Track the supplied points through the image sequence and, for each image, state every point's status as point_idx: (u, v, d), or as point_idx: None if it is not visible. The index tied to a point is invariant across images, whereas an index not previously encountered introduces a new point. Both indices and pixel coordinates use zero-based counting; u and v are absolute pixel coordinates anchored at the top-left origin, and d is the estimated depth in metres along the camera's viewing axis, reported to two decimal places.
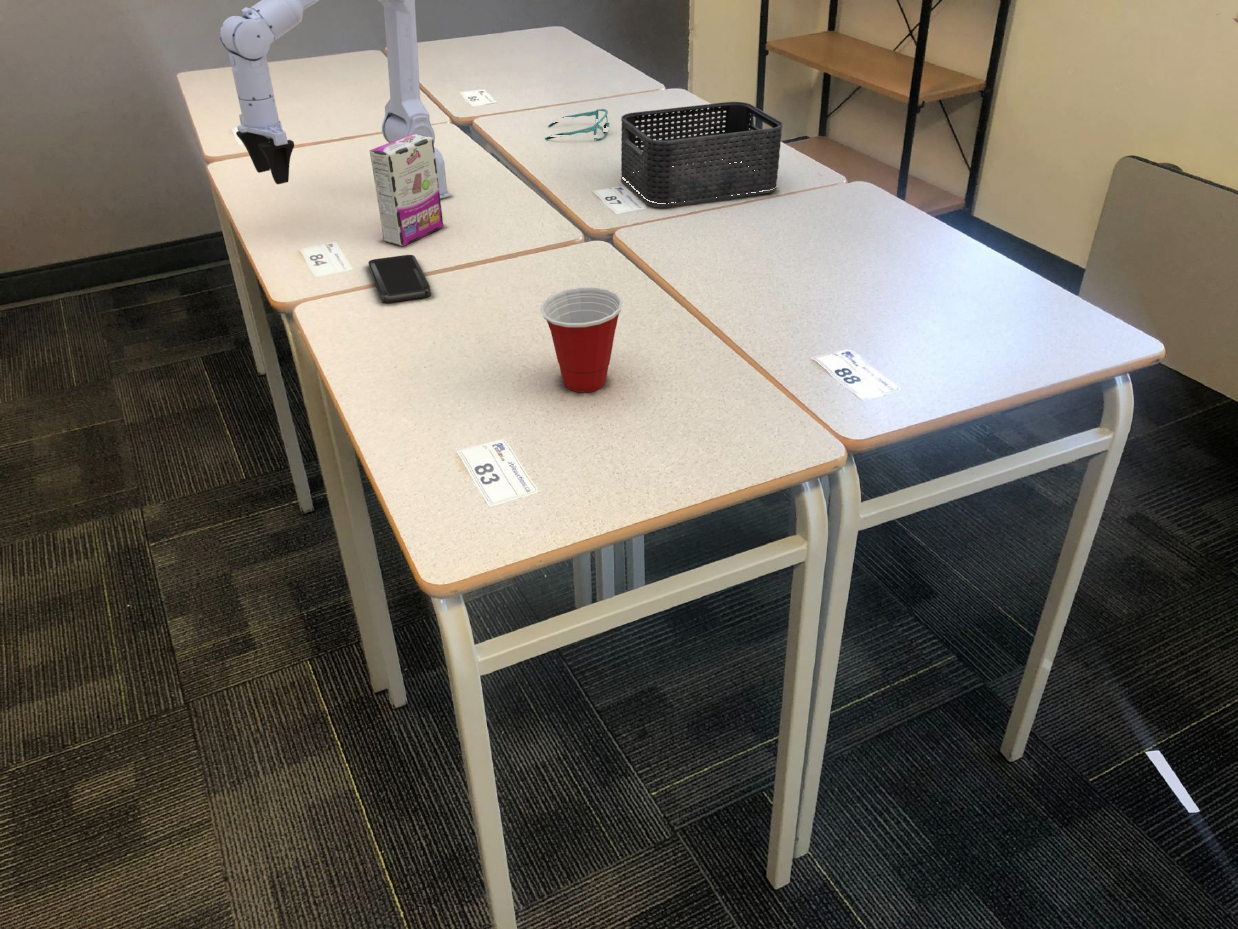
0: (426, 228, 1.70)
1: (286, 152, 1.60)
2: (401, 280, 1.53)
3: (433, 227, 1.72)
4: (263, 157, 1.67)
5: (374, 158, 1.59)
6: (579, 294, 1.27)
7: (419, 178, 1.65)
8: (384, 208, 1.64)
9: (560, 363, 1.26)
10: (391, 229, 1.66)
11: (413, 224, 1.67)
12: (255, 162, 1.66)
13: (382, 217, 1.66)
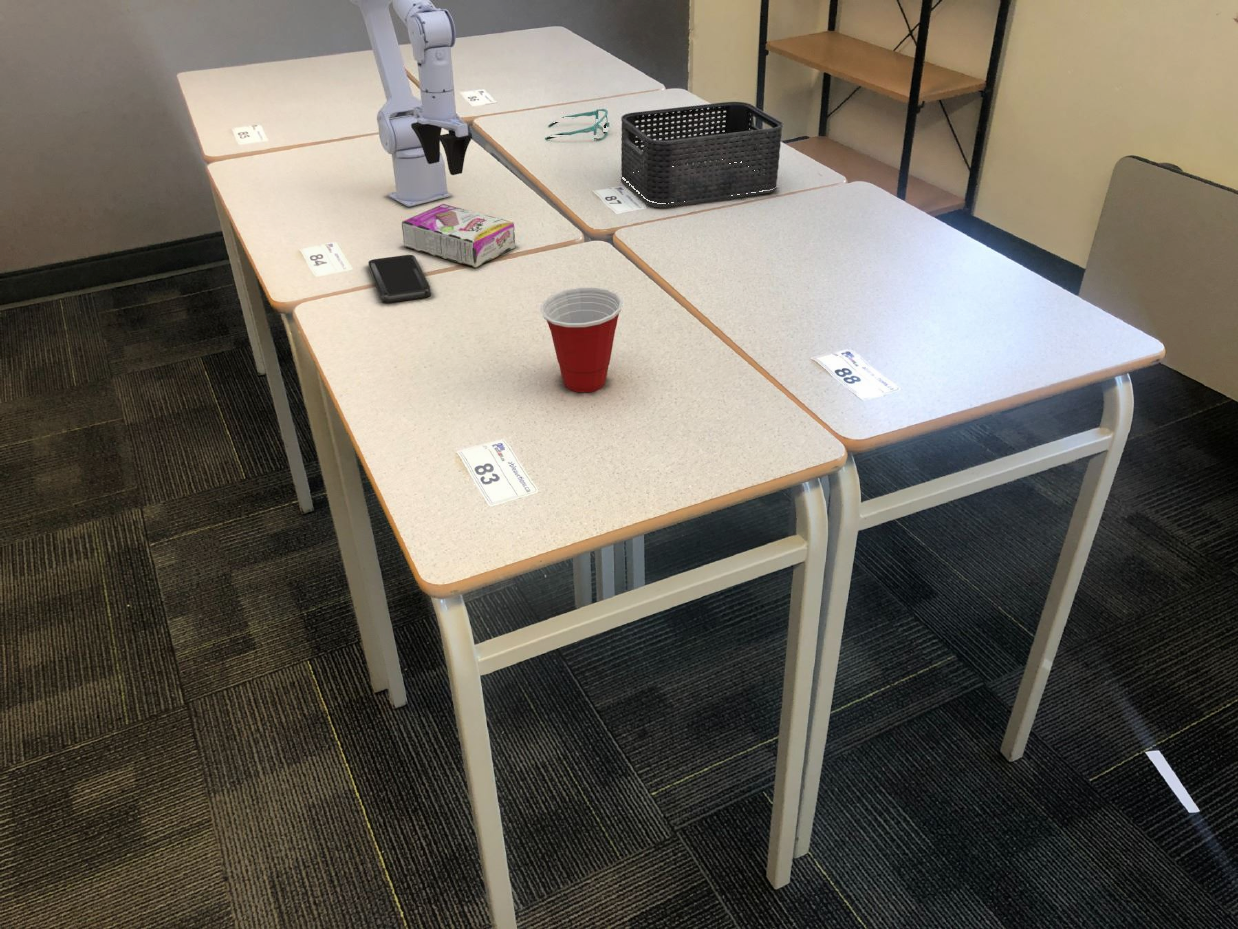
0: None
1: (464, 143, 1.64)
2: (401, 280, 1.53)
3: None
4: (434, 149, 1.71)
5: (468, 245, 1.58)
6: (579, 294, 1.27)
7: None
8: (429, 238, 1.62)
9: (560, 363, 1.26)
10: (414, 239, 1.64)
11: None
12: (427, 154, 1.70)
13: (421, 230, 1.62)
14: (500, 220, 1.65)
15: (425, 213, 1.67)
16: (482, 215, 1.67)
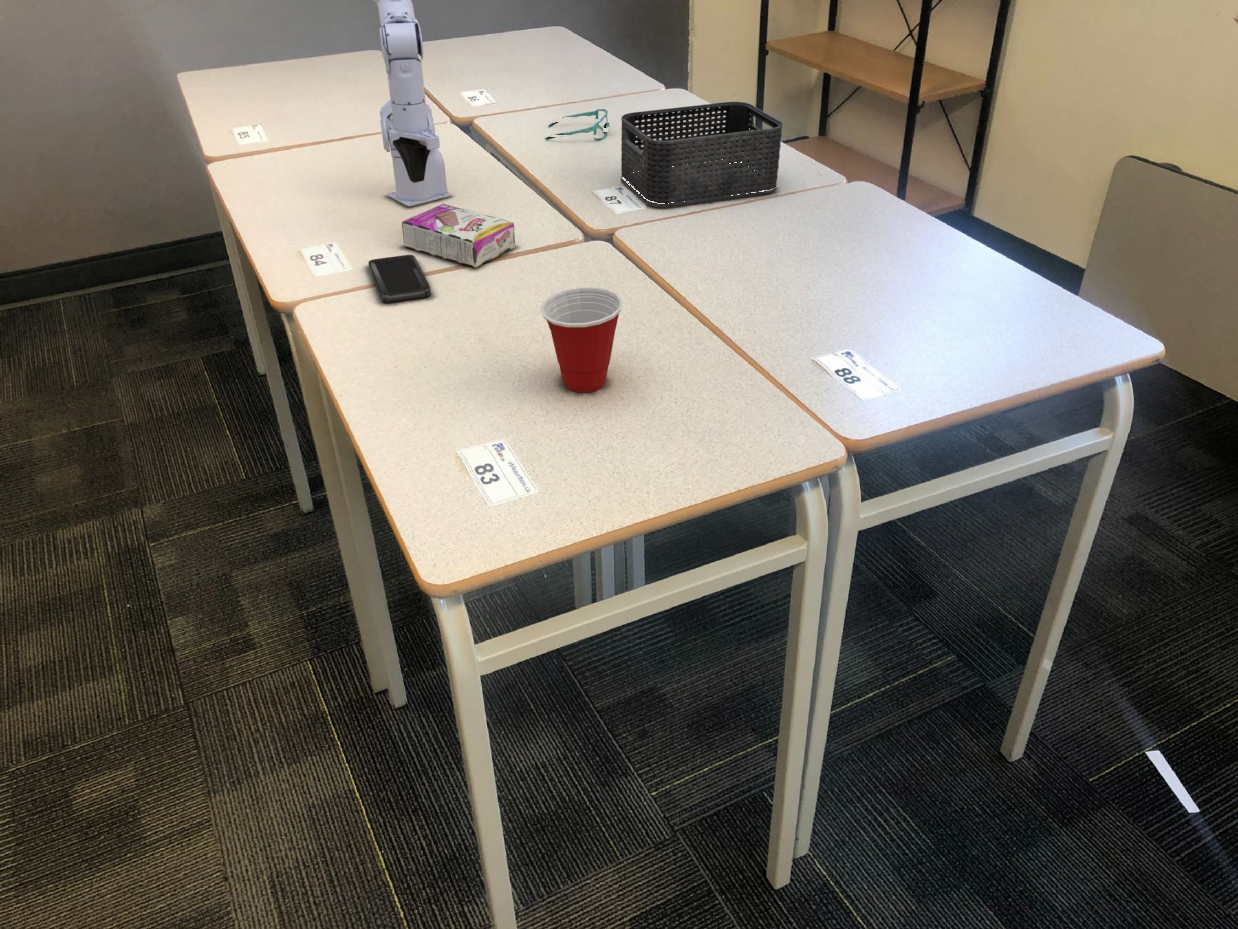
0: None
1: (425, 151, 1.63)
2: (401, 280, 1.53)
3: None
4: None
5: (468, 245, 1.58)
6: (579, 294, 1.27)
7: None
8: (429, 238, 1.62)
9: (560, 363, 1.26)
10: (414, 239, 1.64)
11: None
12: None
13: (421, 230, 1.62)
14: (500, 220, 1.65)
15: (425, 213, 1.67)
16: (482, 215, 1.67)
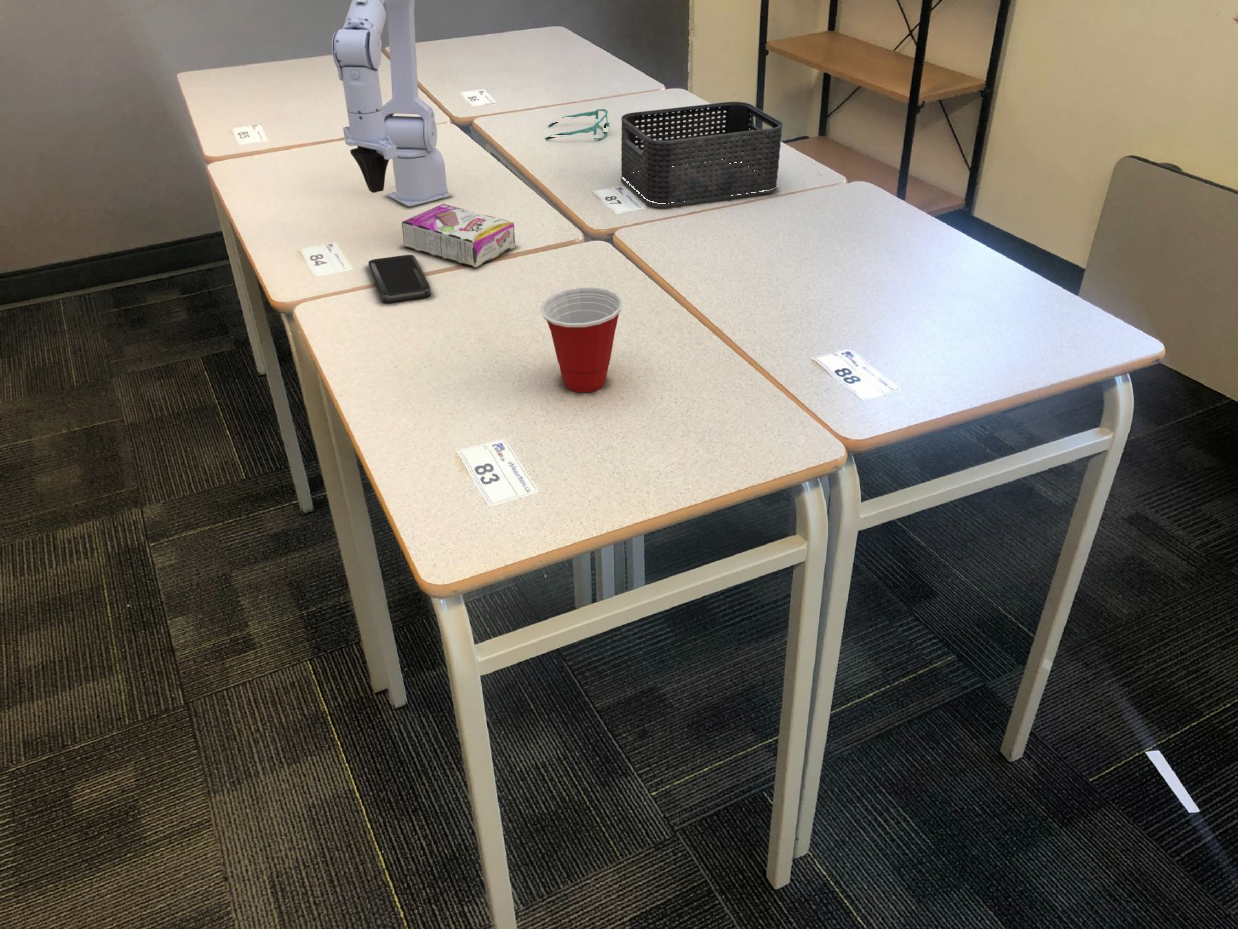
0: None
1: (383, 160, 1.59)
2: (401, 280, 1.53)
3: None
4: None
5: (468, 245, 1.58)
6: (579, 294, 1.27)
7: None
8: (429, 238, 1.62)
9: (560, 363, 1.26)
10: (414, 239, 1.64)
11: None
12: None
13: (421, 230, 1.62)
14: (500, 220, 1.65)
15: (425, 213, 1.67)
16: (482, 215, 1.67)
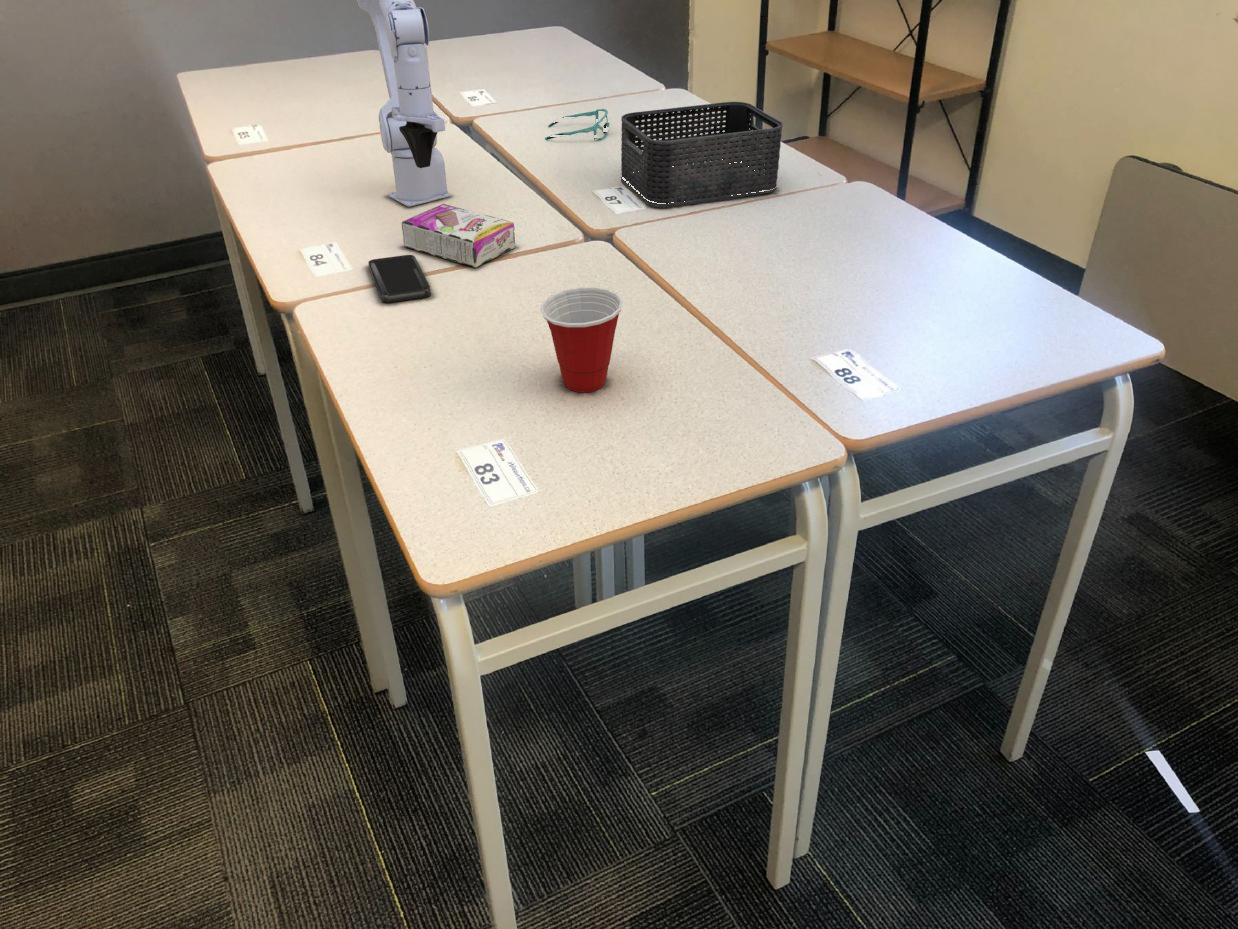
0: None
1: (431, 136, 1.67)
2: (401, 280, 1.53)
3: None
4: None
5: (468, 245, 1.58)
6: (579, 294, 1.27)
7: None
8: (429, 238, 1.62)
9: (560, 363, 1.26)
10: (414, 239, 1.64)
11: None
12: None
13: (421, 230, 1.62)
14: (500, 220, 1.65)
15: (425, 213, 1.67)
16: (482, 215, 1.67)
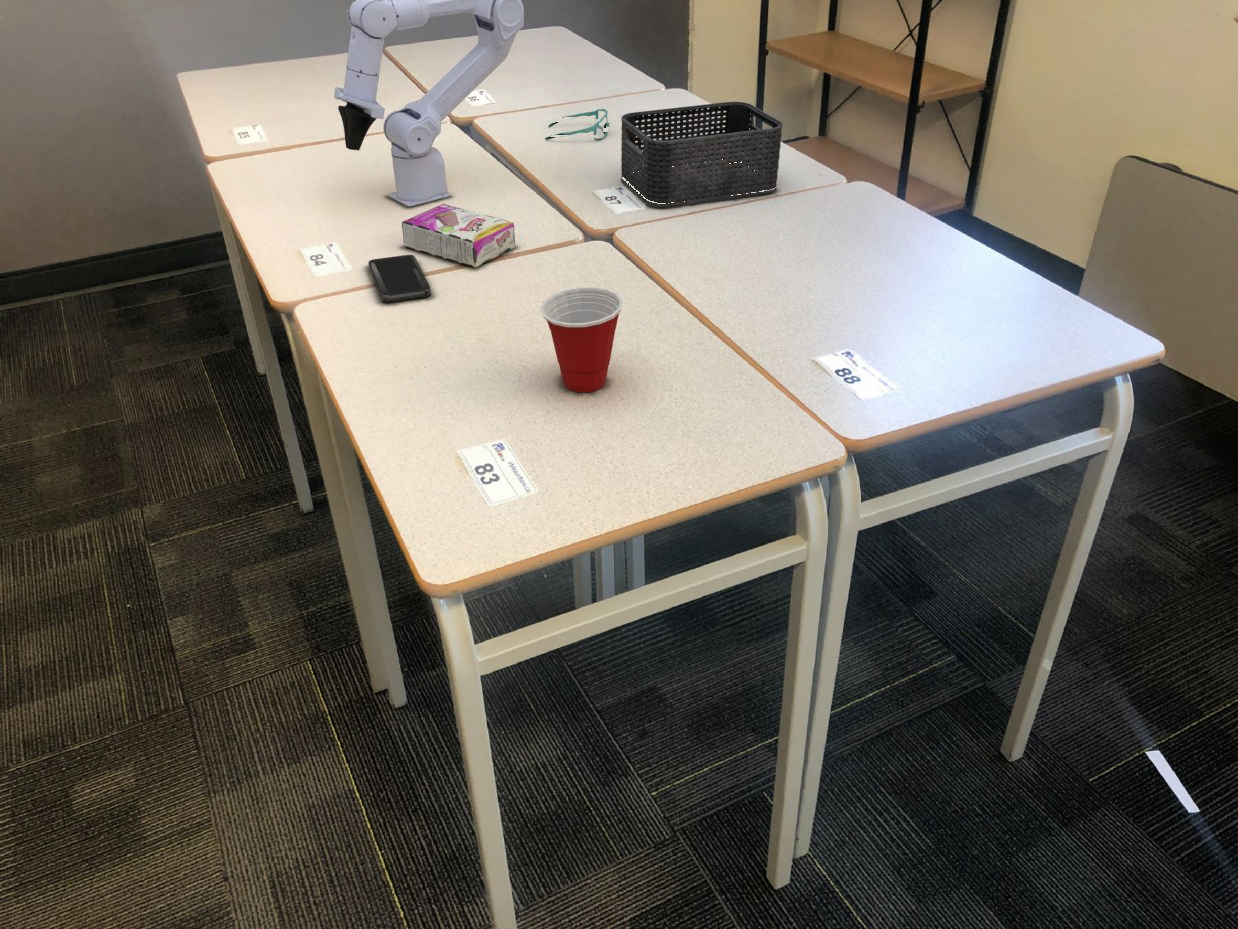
0: None
1: (367, 122, 1.72)
2: (401, 280, 1.53)
3: None
4: None
5: (468, 245, 1.58)
6: (579, 294, 1.27)
7: None
8: (429, 238, 1.62)
9: (560, 363, 1.26)
10: (414, 239, 1.64)
11: None
12: None
13: (421, 230, 1.62)
14: (500, 220, 1.65)
15: (425, 213, 1.67)
16: (482, 215, 1.67)
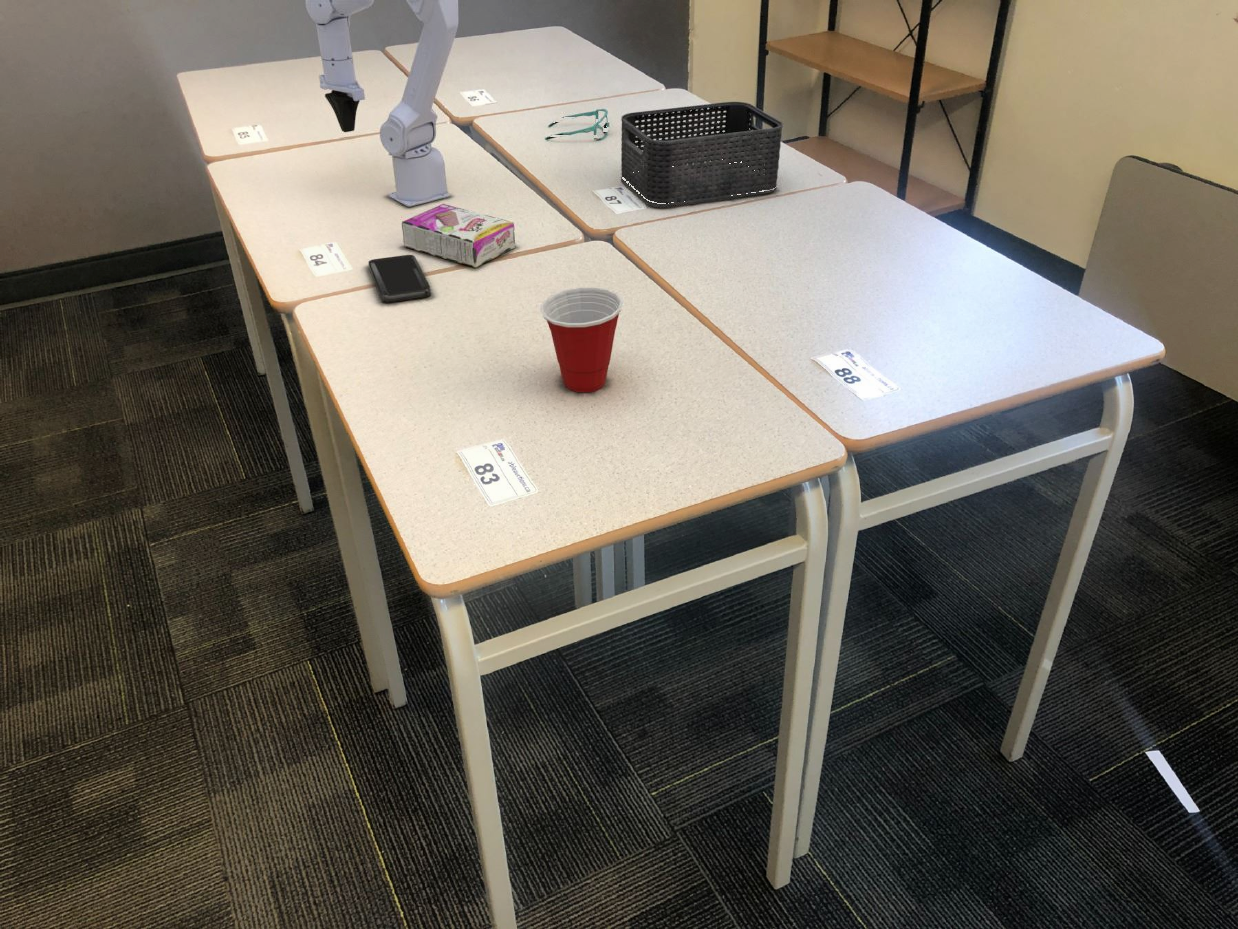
0: None
1: (354, 103, 1.83)
2: (401, 280, 1.53)
3: None
4: None
5: (468, 245, 1.58)
6: (579, 294, 1.27)
7: None
8: (429, 238, 1.62)
9: (560, 363, 1.26)
10: (414, 239, 1.64)
11: None
12: None
13: (421, 230, 1.62)
14: (500, 220, 1.65)
15: (425, 213, 1.67)
16: (482, 215, 1.67)
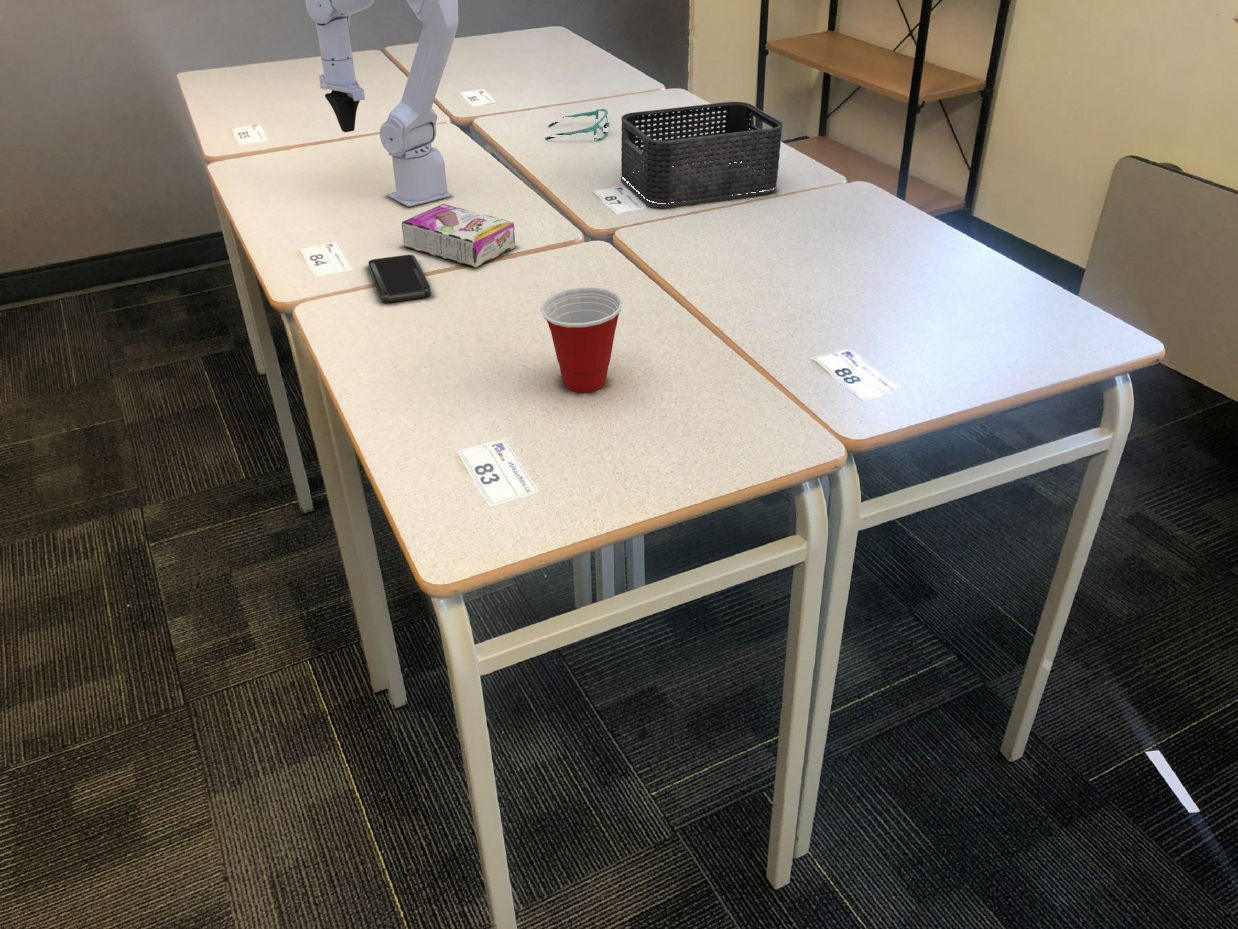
0: None
1: (354, 103, 1.83)
2: (401, 280, 1.53)
3: None
4: None
5: (468, 245, 1.58)
6: (579, 294, 1.27)
7: None
8: (429, 238, 1.62)
9: (560, 363, 1.26)
10: (414, 239, 1.64)
11: None
12: None
13: (421, 230, 1.62)
14: (500, 220, 1.65)
15: (425, 213, 1.67)
16: (482, 215, 1.67)
